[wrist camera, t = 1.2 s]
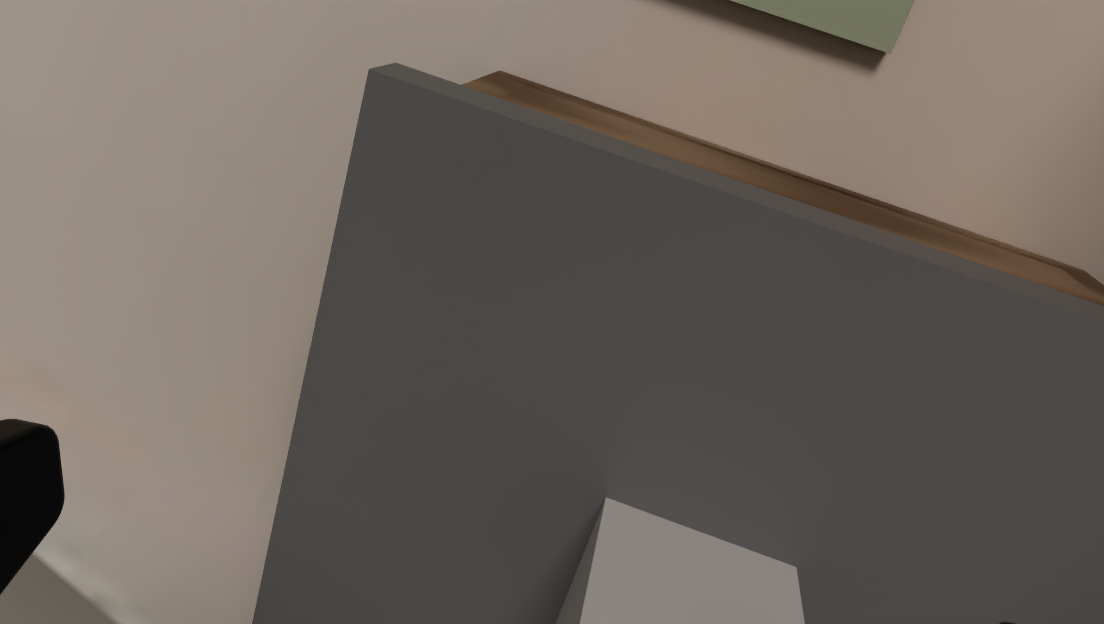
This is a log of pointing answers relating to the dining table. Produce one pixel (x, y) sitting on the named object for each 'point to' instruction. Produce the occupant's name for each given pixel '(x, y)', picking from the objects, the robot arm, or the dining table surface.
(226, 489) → the dining table surface
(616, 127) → the storage box
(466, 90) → the lid
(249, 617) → the dining table surface
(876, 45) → the mat
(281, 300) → the dining table surface
